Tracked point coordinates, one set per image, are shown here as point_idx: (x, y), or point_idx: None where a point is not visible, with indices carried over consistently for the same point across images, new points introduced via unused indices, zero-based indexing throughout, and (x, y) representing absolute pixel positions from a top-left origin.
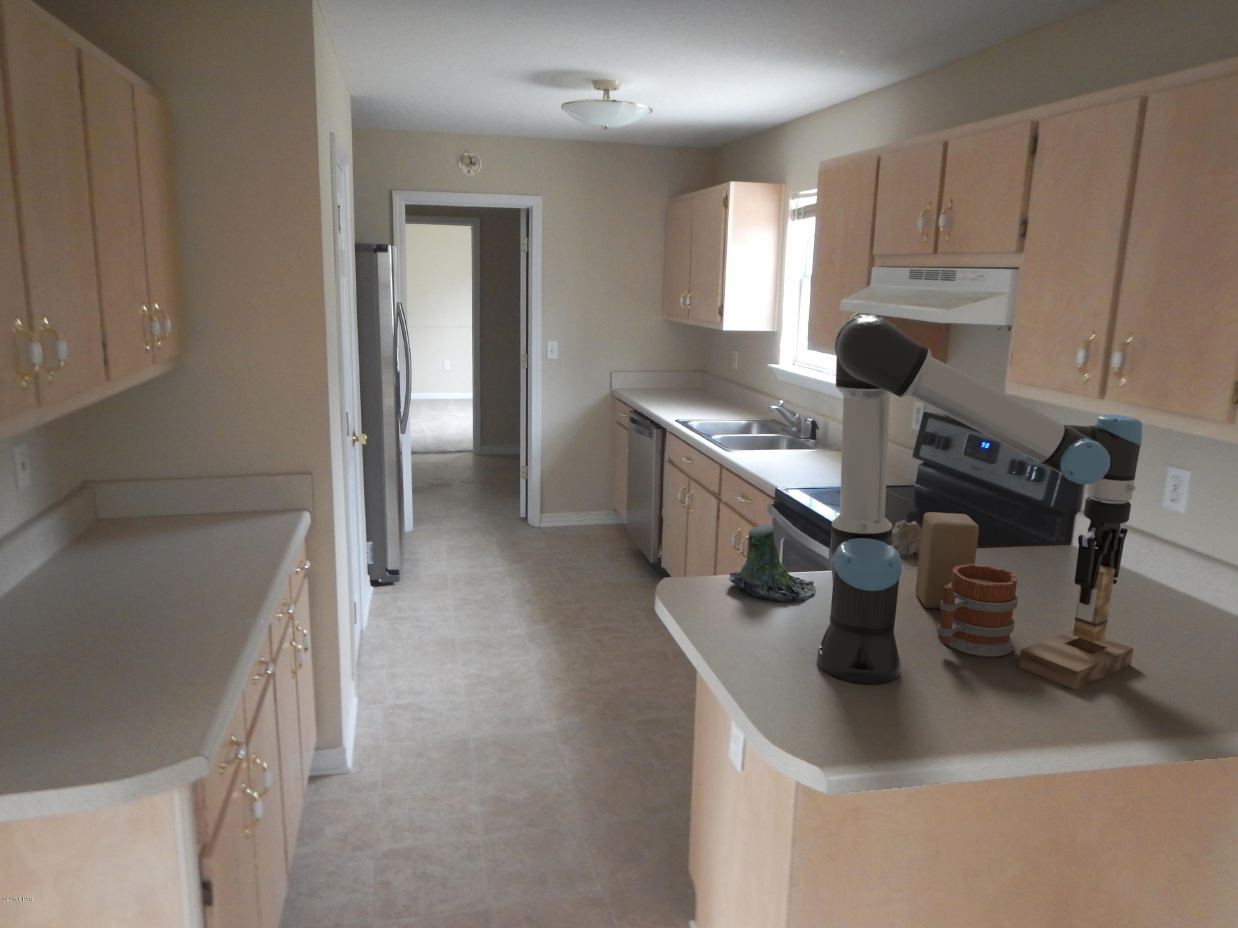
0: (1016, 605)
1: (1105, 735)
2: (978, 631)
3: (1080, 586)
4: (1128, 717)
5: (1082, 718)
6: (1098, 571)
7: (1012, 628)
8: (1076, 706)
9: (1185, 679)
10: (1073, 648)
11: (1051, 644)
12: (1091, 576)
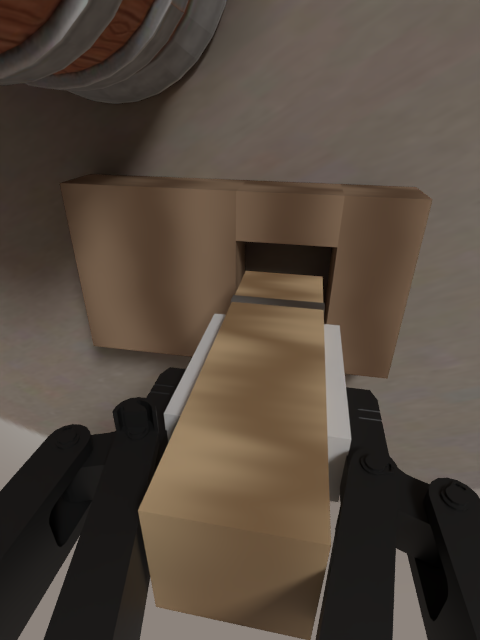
0: (53, 70)
1: (22, 413)
2: None
3: (193, 391)
4: (112, 418)
5: (30, 375)
6: (146, 583)
7: (102, 84)
8: (56, 352)
9: (393, 440)
10: (222, 277)
11: (188, 220)
12: (73, 545)
